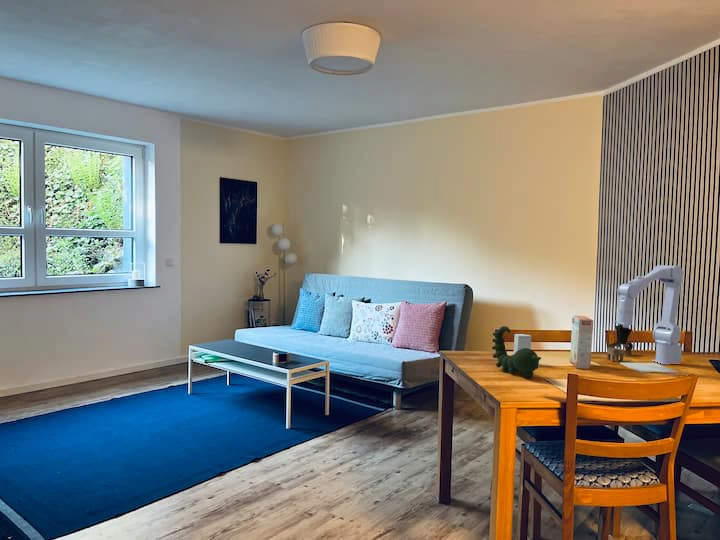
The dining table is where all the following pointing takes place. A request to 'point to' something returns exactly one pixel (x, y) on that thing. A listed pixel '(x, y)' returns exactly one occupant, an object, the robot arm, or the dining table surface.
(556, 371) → the dining table surface
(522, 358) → the toy figurine
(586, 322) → the cracker box
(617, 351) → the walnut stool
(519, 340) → the skincare box
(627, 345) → the pottery mug
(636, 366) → the grey mat
